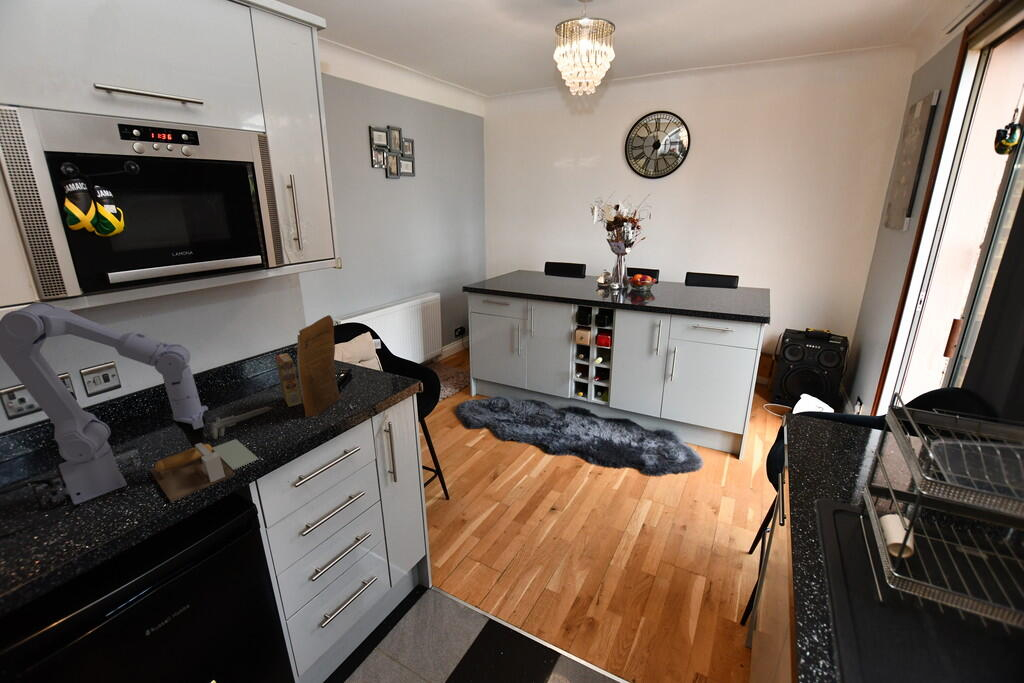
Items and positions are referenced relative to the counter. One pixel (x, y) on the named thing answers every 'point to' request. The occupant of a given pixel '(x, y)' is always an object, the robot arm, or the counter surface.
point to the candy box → (288, 379)
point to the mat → (234, 454)
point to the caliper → (232, 421)
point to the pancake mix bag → (317, 366)
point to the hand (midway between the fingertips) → (197, 445)
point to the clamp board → (186, 479)
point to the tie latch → (210, 463)
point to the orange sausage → (179, 459)
